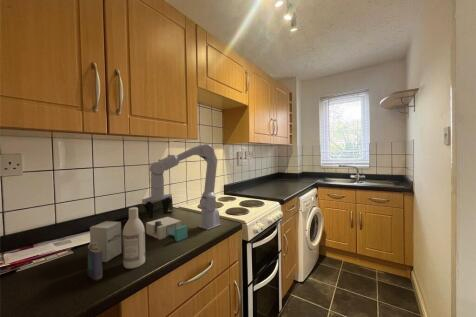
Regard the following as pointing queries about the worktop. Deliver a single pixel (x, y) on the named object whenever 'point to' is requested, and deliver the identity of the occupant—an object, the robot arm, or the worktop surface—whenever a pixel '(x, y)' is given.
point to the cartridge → (177, 232)
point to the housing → (161, 227)
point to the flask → (94, 262)
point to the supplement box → (107, 238)
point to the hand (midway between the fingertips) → (158, 216)
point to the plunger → (157, 225)
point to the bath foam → (133, 241)
